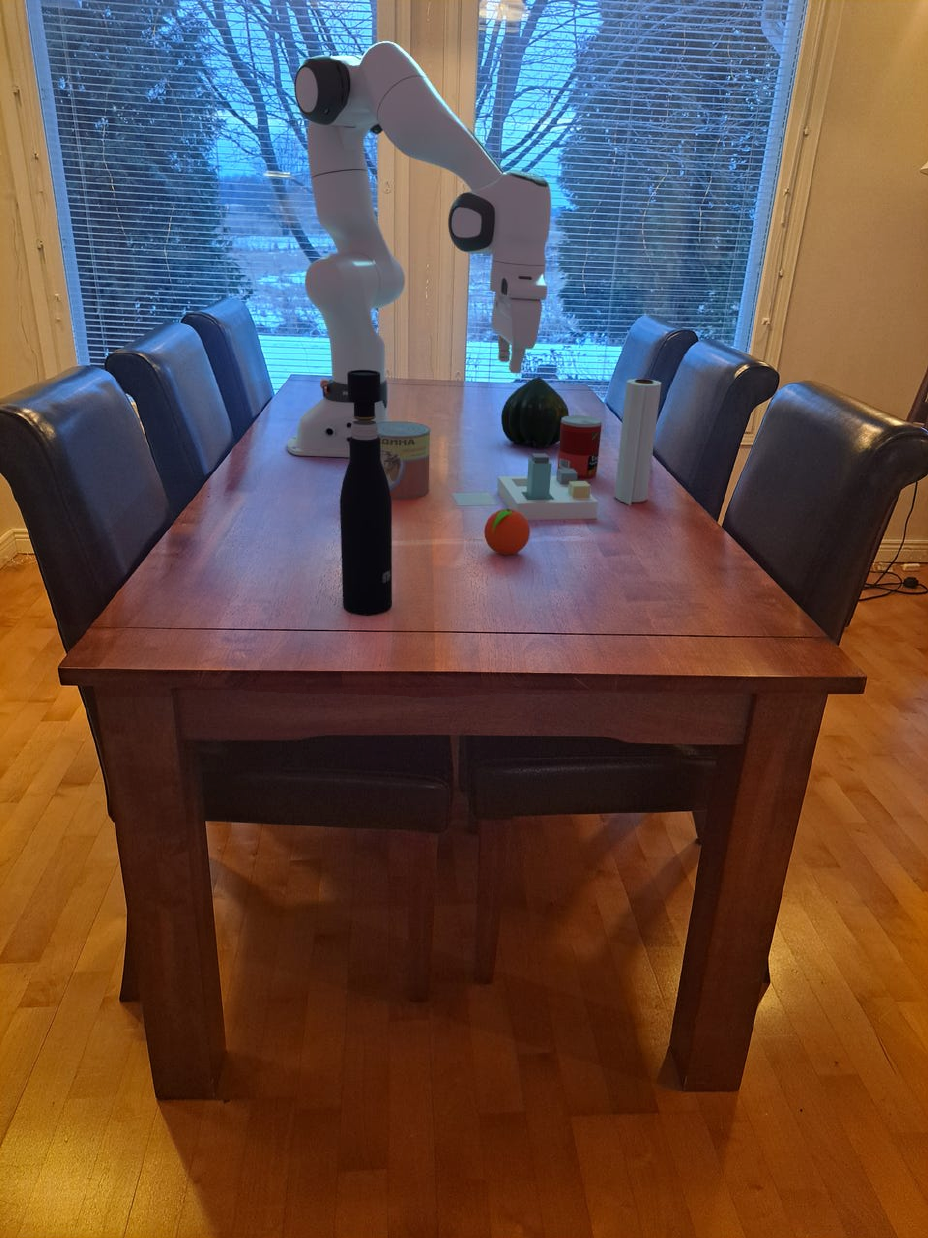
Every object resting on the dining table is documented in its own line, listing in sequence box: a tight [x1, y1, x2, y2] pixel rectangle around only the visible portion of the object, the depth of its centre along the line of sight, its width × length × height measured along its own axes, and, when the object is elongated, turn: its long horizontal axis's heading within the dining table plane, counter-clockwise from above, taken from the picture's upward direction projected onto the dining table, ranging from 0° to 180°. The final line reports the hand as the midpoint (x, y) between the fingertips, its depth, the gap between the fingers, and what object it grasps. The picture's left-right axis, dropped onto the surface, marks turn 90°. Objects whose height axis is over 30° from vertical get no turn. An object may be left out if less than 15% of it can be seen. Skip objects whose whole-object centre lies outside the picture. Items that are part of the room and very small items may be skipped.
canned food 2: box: [556, 414, 603, 480], centre depth 175 cm, size 8×8×11 cm
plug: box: [526, 453, 552, 500], centre depth 150 cm, size 3×3×10 cm
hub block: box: [496, 468, 599, 521], centre depth 155 cm, size 14×16×6 cm
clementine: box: [483, 508, 531, 556], centre depth 133 cm, size 8×7×7 cm
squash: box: [501, 376, 570, 449], centre depth 196 cm, size 14×15×15 cm
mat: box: [451, 492, 498, 507], centre depth 158 cm, size 7×7×1 cm
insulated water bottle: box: [339, 370, 393, 616], centre depth 110 cm, size 6×6×30 cm
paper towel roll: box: [614, 378, 662, 506], centre depth 158 cm, size 7×6×21 cm
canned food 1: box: [377, 420, 431, 501], centre depth 159 cm, size 11×11×12 cm
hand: (508, 366), depth 152 cm, fingers open, 8 cm apart
